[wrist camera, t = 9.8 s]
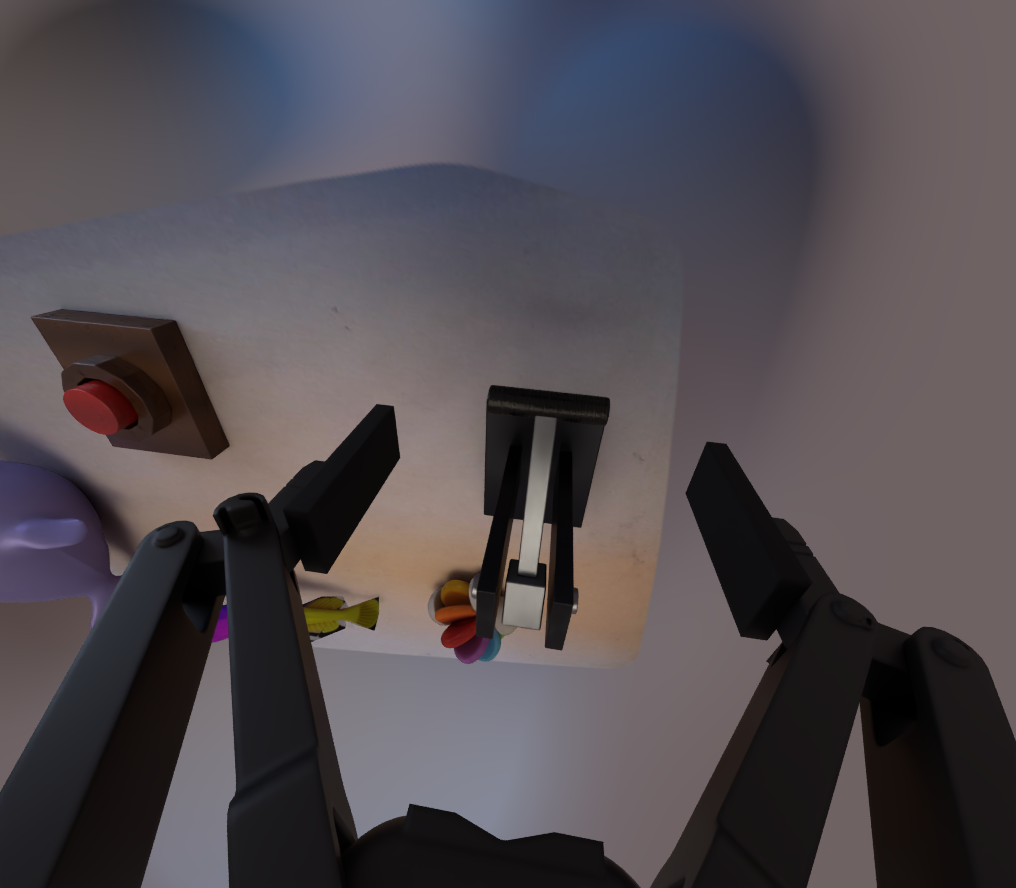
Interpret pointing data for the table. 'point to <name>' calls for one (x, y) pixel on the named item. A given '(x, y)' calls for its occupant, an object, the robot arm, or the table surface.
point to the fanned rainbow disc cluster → (465, 622)
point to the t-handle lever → (538, 487)
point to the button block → (138, 378)
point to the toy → (322, 617)
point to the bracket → (507, 502)
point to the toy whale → (50, 540)
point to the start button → (100, 407)
